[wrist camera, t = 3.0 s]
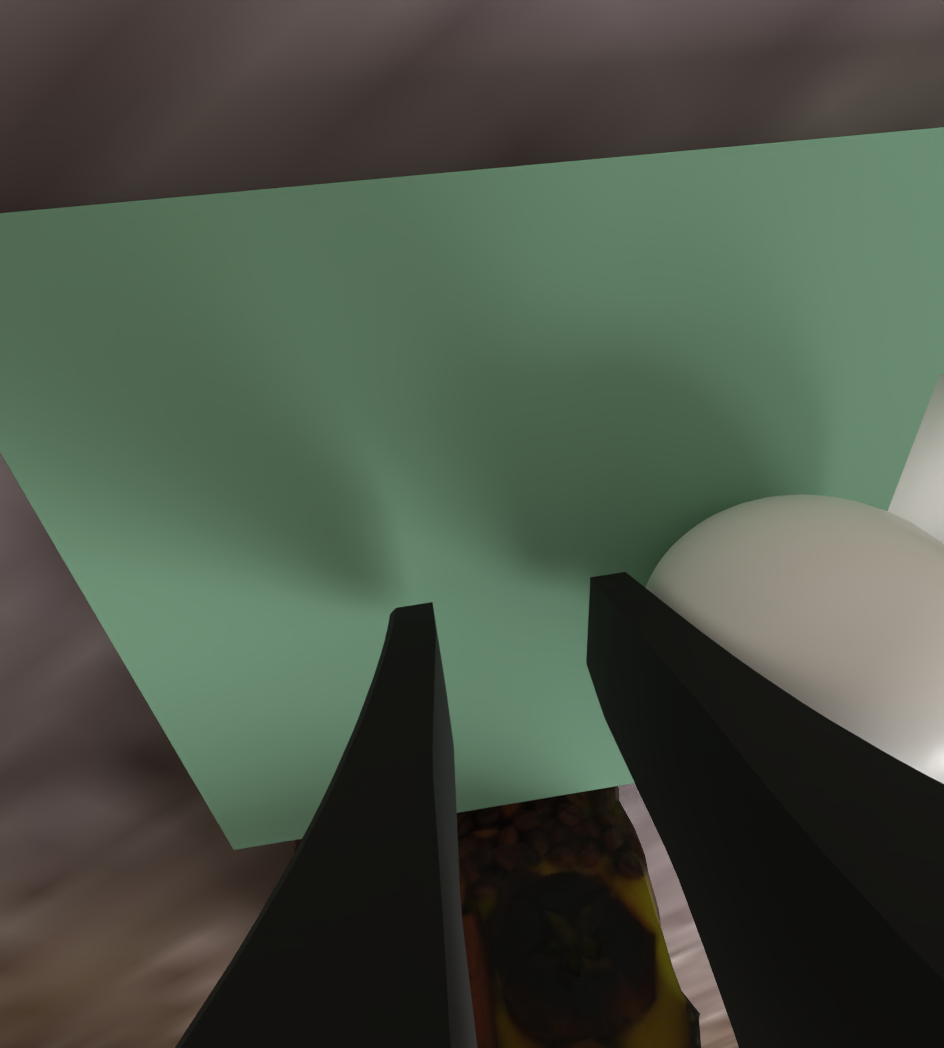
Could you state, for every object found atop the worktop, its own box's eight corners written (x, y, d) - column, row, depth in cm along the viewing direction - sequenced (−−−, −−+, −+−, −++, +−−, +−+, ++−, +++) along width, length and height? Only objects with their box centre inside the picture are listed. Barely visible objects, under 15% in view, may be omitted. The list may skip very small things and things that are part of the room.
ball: (807, 425, 10) (1196, 548, 6) (761, 629, 13) (1018, 813, 9) (579, 489, 9) (891, 705, 5) (577, 705, 11) (781, 970, 7)
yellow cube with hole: (292, 816, 17) (191, 1443, 8) (609, 749, 17) (820, 1293, 9) (374, 952, 22) (363, 1415, 14) (614, 899, 23) (747, 1325, 14)
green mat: (1390, 89, 10) (1603, 66, 8) (1027, 654, 17) (1096, 705, 15) (-24, 218, 8) (-134, 225, 6) (251, 778, 16) (233, 850, 14)
